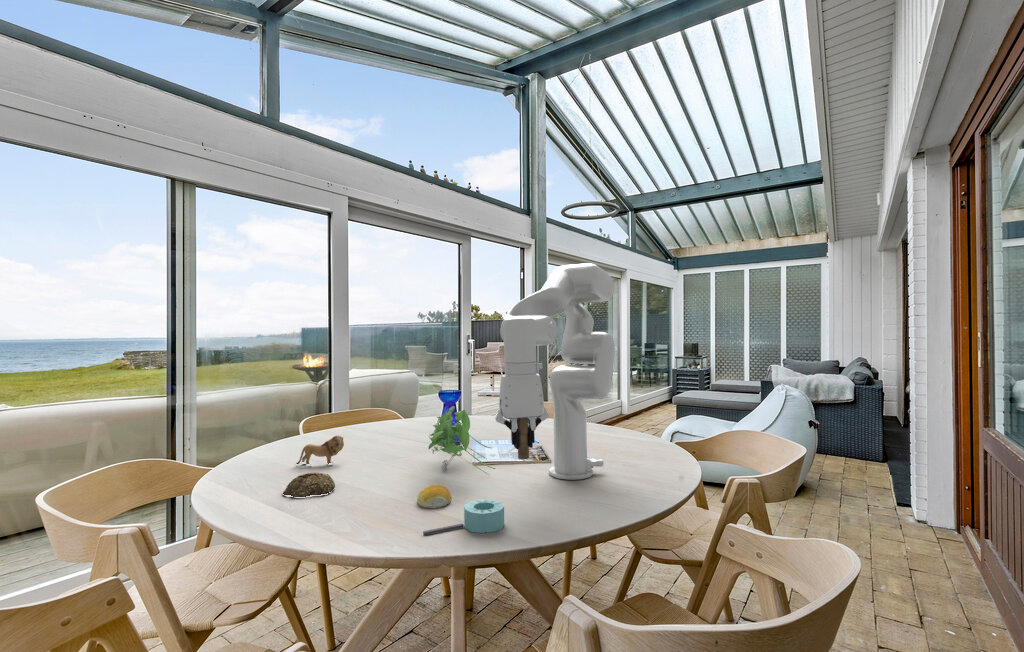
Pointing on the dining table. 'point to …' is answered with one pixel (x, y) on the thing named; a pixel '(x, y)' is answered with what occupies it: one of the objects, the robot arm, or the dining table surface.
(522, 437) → the round-ended wooden dowel
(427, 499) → the bread roll
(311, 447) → the lion figurine
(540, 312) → the robot arm
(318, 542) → the dining table surface
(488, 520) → the bead
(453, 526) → the thin grey bar
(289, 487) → the brown rock
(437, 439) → the plant cuttings
